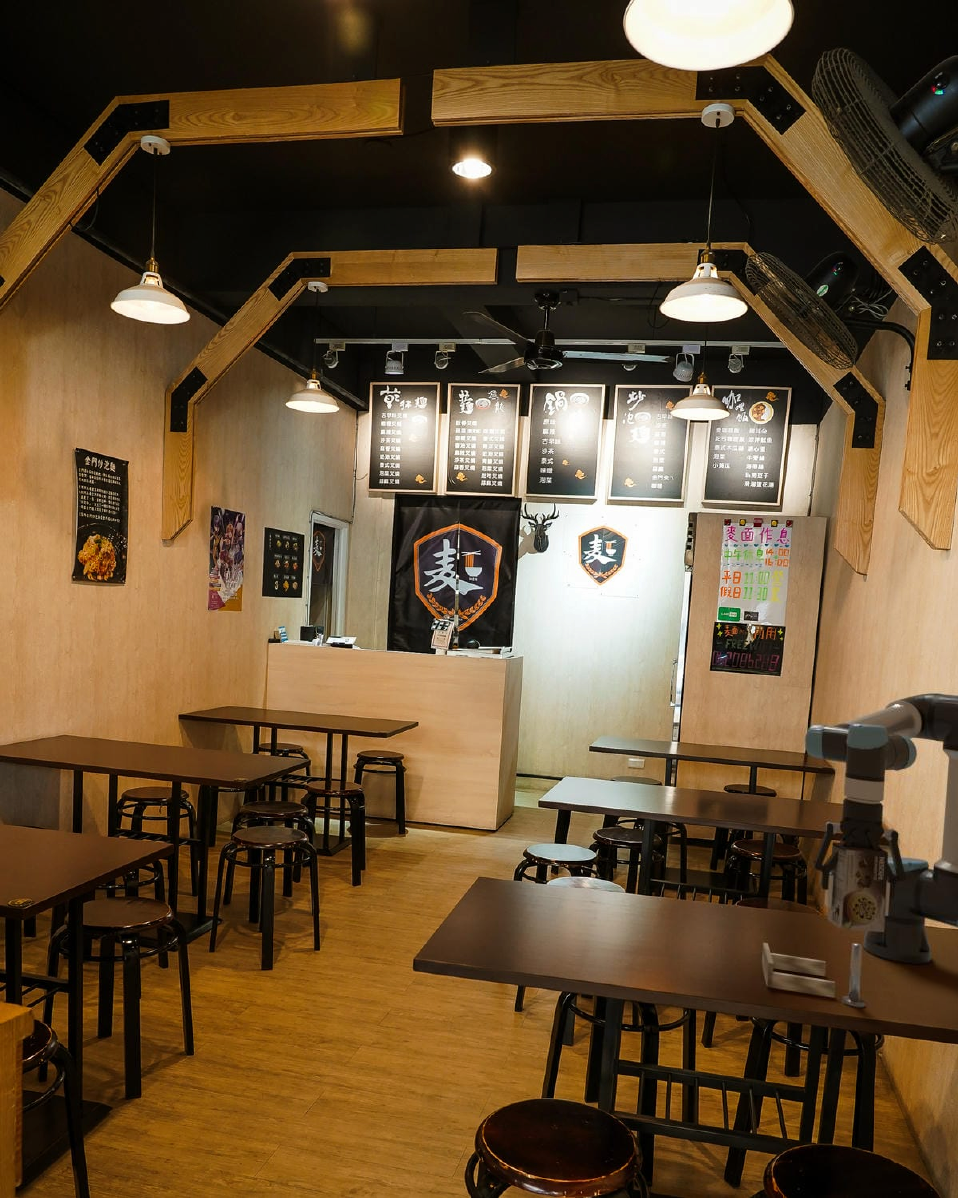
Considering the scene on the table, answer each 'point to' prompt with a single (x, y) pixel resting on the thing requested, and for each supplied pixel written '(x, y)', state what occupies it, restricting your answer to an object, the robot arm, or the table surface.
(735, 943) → the table surface
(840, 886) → the coffee box
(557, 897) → the table surface
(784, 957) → the bay
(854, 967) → the post
